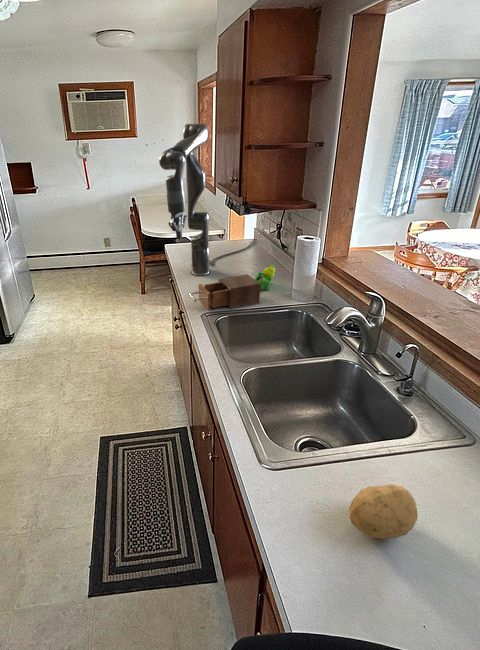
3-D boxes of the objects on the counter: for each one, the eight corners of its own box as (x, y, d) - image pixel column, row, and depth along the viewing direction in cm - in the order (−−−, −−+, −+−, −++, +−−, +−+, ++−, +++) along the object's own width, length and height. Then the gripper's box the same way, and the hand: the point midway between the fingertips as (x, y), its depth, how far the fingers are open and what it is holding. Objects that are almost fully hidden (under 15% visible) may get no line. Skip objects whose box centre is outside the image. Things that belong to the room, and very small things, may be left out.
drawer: (195, 312, 168) (195, 296, 165) (187, 302, 178) (186, 286, 175) (236, 304, 173) (236, 288, 170) (225, 295, 183) (225, 279, 180)
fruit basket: (257, 281, 199) (258, 260, 194) (275, 283, 196) (276, 262, 192) (253, 290, 189) (254, 268, 185) (272, 292, 187) (273, 269, 182)
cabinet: (229, 308, 172) (230, 288, 168) (218, 297, 183) (218, 278, 179) (259, 303, 176) (260, 283, 172) (246, 292, 187) (247, 274, 183)
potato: (332, 514, 82) (337, 487, 79) (387, 495, 85) (394, 469, 82) (366, 560, 73) (373, 532, 70) (425, 536, 77) (434, 509, 73)
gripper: (176, 204, 161) (179, 244, 169) (190, 197, 171) (193, 234, 179) (160, 204, 165) (165, 243, 173) (175, 196, 175) (179, 233, 182)
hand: (179, 238), depth 176 cm, fingers closed
